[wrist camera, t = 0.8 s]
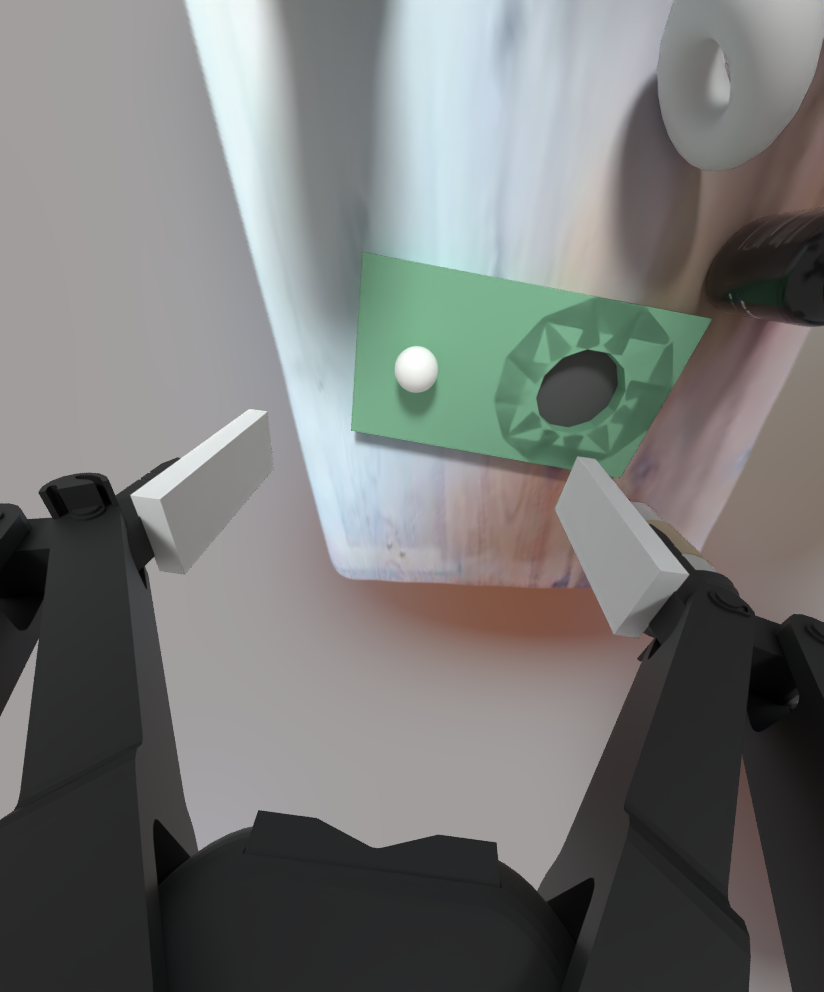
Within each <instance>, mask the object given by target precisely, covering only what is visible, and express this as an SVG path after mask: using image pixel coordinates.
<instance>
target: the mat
mask: <svg viewBox="0 0 824 992" xmlns="http://www.w3.org/2000/svg"><path fill="white" fill-rule="evenodd" d="M711 320H712V319H710V318H705V317H700V316H695V315H689V314H684V313H679V312H674V311H668V310H663V309H658V308H653V307H647V306H642V305H637V304H632V303H626V302H621V301H616V300H611V299H605V298H600V297H595V296H590V295H585V294H579V293H574V292H569V291H564V290H558V289H553V288H548V287H543V286H537V285H532V284H527V283H522V282H516V281H511V280H506V279H501V278H495V277H490V276H485V275H480V274H474V273H469V272H464V271H459V270H453V269H448V268H443V267H438V266H432V265H427V264H422V263H417V262H411V261H406V260H401V259H396V258H391V257H385V256H380V255H375V254H370V253H364V252H362V266H361V281H360V297H359V313H358V329H357V345H356V360H355V376H354V392H353V408H352V424H351V431H356V432H362V433H368V434H373V435H379V436H384V437H390V438H396V439H401V440H407V441H413V442H418V443H424V444H429V445H435V446H441V447H446V448H452V449H458V450H463V451H469V452H474V453H480V454H486V455H491V456H497V457H502V458H508V459H514V460H519V461H525V462H531V463H536V464H542V465H547V466H553V467H559V468H564V469H570V470H572V468H573V465H574V463H575V461H576V459H577V456H578V457H585V458H592V459H596V460H597V462H598V463H599V464H600V465H601V466H602V468H603V469H604V470H605V471H606V473H607V474H608V475H609V476H610V477H615V478H620V477H621V476H622V474H623V472H624V470H625V469H626V467H627V465H628V464H629V462H630V460H631V458H632V457H633V455H634V453H635V451H636V450H637V448H638V446H639V445H640V443H641V441H642V439H643V438H644V436H645V434H646V432H647V431H648V429H649V427H650V426H651V424H652V422H653V420H654V419H655V417H656V415H657V413H658V412H659V410H660V408H661V407H662V405H663V403H664V401H665V400H666V398H667V396H668V394H669V393H670V391H671V389H672V388H673V386H674V384H675V382H676V381H677V379H678V377H679V375H680V374H681V372H682V370H683V369H684V367H685V365H686V363H687V362H688V360H689V358H690V356H691V355H692V353H693V351H694V350H695V348H696V346H697V344H698V343H699V341H700V339H701V337H702V336H703V334H704V332H705V331H706V329H707V327H708V325H709V324H710V322H711ZM413 346H421V347H424V348H426V349H428V350H429V351H431V352H432V353H433V355H434V356H435V358H436V360H437V363H438V376H437V379H436V381H435V383H434V384H433V385H432V386H431V387H430V388H429V389H428V390H426V391H424V392H420V393H413V392H409V391H407V390H405V389H404V388H402V387H401V386H400V384H399V383H398V381H397V379H396V376H395V363H396V360H397V358H398V356H399V355H400V354H401V352H403V351H404V350H405V349H407V348H409V347H413Z"/></svg>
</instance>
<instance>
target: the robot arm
mask: <svg viewBox="0 0 824 992" xmlns="http://www.w3.org/2000/svg"><path fill="white" fill-rule="evenodd" d="M273 469H274V466H273V457H272V448H271V439H270V430H269V421H268V412H267V411H259V410H253V409H249V410H247V411H246V412H245V413H243V414H242V415H240V416H239V417H238V418H236V419H235V420H233V421H232V422H231V423H229V424H228V425H227V426H225V427H224V428H222V429H221V430H220V431H218V432H217V433H215V434H214V435H213V436H211V437H210V438H209V439H207V440H206V441H204V442H203V443H202V444H200V445H199V446H198V447H196V448H195V449H194V450H192V451H191V452H189V453H188V454H187V455H185V456H184V457H182V458H175V459H172V460H170V461H167V462H165V463H162V464H160V465H159V466H158V467H156V468H155V469H153V470H152V471H150V473H147V474H146V475H145V476H143V477H142V478H141V480H137V481H136V482H135V483H133V484H132V485H130V486H129V487H127V488H126V489H124V490H123V491H121V492H120V493H119V494H117V495H116V496H115V494H114V492H113V489H112V487H111V484H110V482H109V480H108V478H107V477H106V476H104V475H101V474H99V473H79V474H73V475H69V476H64V477H61V478H58V479H55V480H53V481H50V482H49V483H47V484H46V485H44V486H43V487H42V488H41V489H40V491H39V495H40V496H41V498H42V500H43V502H44V504H45V505H46V507H47V509H48V511H49V512H50V514H51V516H52V518H40V519H27V518H26V516H25V515H24V513H23V512H22V510H21V509H20V508H19V506H17V505H13V504H0V716H1V714H2V712H3V710H4V708H5V706H6V704H7V702H8V700H9V697H10V695H11V693H12V691H13V689H14V687H15V685H16V683H17V681H18V679H19V677H20V675H21V673H22V671H23V669H24V667H25V665H26V663H27V661H28V659H29V657H30V655H31V653H32V651H33V649H34V647H35V645H36V643H37V641H38V639H39V643H38V651H37V660H36V668H35V676H34V684H33V692H32V700H31V708H30V717H29V725H28V734H27V741H26V749H25V758H24V766H23V774H22V782H21V791H20V796H19V800H18V804H17V806H16V807H15V809H14V811H13V812H11V813H10V814H8V815H7V816H5V817H4V818H2V819H1V820H0V992H749V975H750V958H751V956H750V938H749V933H748V931H747V928H746V925H745V922H744V920H743V919H742V918H741V917H740V916H739V915H738V914H737V913H736V912H735V911H734V910H733V909H732V908H731V907H730V904H729V901H728V882H729V872H730V863H731V853H732V843H733V834H734V824H735V814H736V805H737V796H738V786H739V777H740V767H741V758H742V756H743V760H744V765H745V769H746V774H747V779H748V784H749V789H750V793H751V798H752V803H753V807H754V812H755V817H756V822H757V826H758V831H759V835H760V841H761V845H762V850H763V855H764V859H765V864H766V869H767V873H768V878H769V883H770V887H771V892H772V897H773V902H774V906H775V911H776V916H777V920H778V925H779V930H780V935H781V939H782V944H783V949H784V954H785V958H786V963H787V968H788V972H789V977H790V982H791V987H792V991H793V992H824V622H821V621H819V620H817V619H814V618H812V617H809V616H805V615H802V614H793V615H792V616H790V617H789V618H788V619H787V620H785V621H784V622H783V623H782V624H778V623H775V622H772V621H769V620H767V619H764V618H761V617H758V616H755V613H754V611H753V610H752V609H751V607H750V606H749V605H748V604H747V603H746V602H745V601H744V600H742V599H741V598H740V597H739V596H737V595H735V594H734V593H732V592H730V591H729V590H726V589H724V588H722V587H719V586H717V585H712V584H707V583H706V581H705V580H704V579H703V578H702V577H701V576H700V574H699V573H698V572H697V571H696V570H695V569H694V567H693V566H692V565H691V564H690V563H689V561H688V560H687V559H686V558H685V557H684V556H682V553H681V552H680V551H679V550H678V548H677V547H674V546H675V545H674V544H673V543H672V541H671V540H670V539H669V538H668V537H667V535H666V534H664V533H663V532H662V531H660V530H659V529H658V528H656V527H655V526H654V525H652V524H648V523H647V522H646V521H645V519H644V518H643V517H642V516H641V514H640V513H639V512H638V511H637V510H636V508H635V507H634V506H633V505H632V503H631V502H630V501H629V500H628V498H627V497H626V496H625V495H624V494H623V492H622V491H621V490H620V489H619V487H618V486H617V485H616V484H615V482H614V481H613V480H612V479H611V478H610V476H609V475H608V474H607V473H606V471H605V470H604V469H603V468H602V466H601V465H600V464H599V463H598V462H597V460H596V459H592V458H585V457H578V456H577V459H576V461H575V463H574V465H573V468H572V470H571V472H570V475H569V477H568V479H567V482H566V484H565V486H564V489H563V491H562V493H561V496H560V498H559V500H558V503H557V505H556V507H555V511H556V513H557V515H558V517H559V519H560V522H561V524H562V526H563V528H564V530H565V532H566V534H567V536H568V539H569V541H570V543H571V545H572V547H573V549H574V551H575V553H576V556H577V558H578V560H579V562H580V564H581V566H582V568H583V570H584V572H585V575H586V577H587V579H588V581H589V583H590V585H591V587H592V589H593V592H594V593H595V596H596V598H597V600H598V602H599V604H600V606H601V608H602V610H603V613H604V614H605V617H606V619H607V621H608V623H609V625H610V628H611V630H612V632H613V634H614V635H620V636H627V637H633V638H639V637H640V636H641V635H642V633H643V632H644V631H645V630H646V628H647V627H648V626H650V628H651V629H652V631H653V633H654V634H655V636H656V637H655V638H654V639H653V640H652V642H651V643H650V644H649V645H648V646H647V648H646V649H645V650H644V651H643V652H642V654H641V655H640V656H639V657H638V658H637V659H638V660H639V661H642V663H641V665H640V668H639V670H638V672H637V674H636V677H635V679H634V681H633V684H632V686H631V689H630V691H629V693H628V695H627V698H626V700H625V702H624V705H623V707H622V710H621V712H620V714H619V717H618V719H617V721H616V724H615V726H614V728H613V731H612V733H611V735H610V738H609V740H608V742H607V745H606V747H605V749H604V752H603V754H602V757H601V759H600V761H599V764H598V766H597V768H596V770H595V773H594V775H593V778H592V780H591V782H590V785H589V787H588V789H587V792H586V794H585V796H584V799H583V801H582V803H581V806H580V808H579V810H578V813H577V815H576V817H575V820H574V822H573V824H572V827H571V829H570V832H569V834H568V836H567V839H566V841H565V843H564V846H563V848H562V850H561V852H560V854H559V855H558V857H557V859H556V860H555V862H554V863H553V865H552V866H551V868H550V869H549V870H548V872H547V874H546V875H545V877H544V879H543V881H542V882H541V884H540V887H539V888H538V891H536V890H535V889H534V888H533V887H532V885H530V884H529V883H528V882H527V881H526V880H525V879H524V878H523V877H522V876H521V875H519V874H518V873H517V872H515V871H514V870H513V869H511V868H510V867H509V866H507V865H506V864H504V863H502V862H501V861H499V860H498V854H497V843H496V842H488V841H482V840H474V839H467V838H459V837H452V836H444V835H435V836H430V837H426V838H422V839H418V840H413V841H409V842H405V843H400V844H396V845H392V846H388V847H383V848H372V847H370V846H368V845H366V844H364V843H362V842H360V841H359V840H357V839H355V838H353V837H351V836H349V835H347V834H345V833H344V832H342V831H340V830H338V829H336V828H334V827H332V826H330V825H329V824H327V823H325V822H323V821H321V820H319V819H317V818H312V817H311V818H310V817H304V816H297V815H289V814H282V813H275V812H267V811H260V810H259V811H258V813H257V816H256V819H255V822H254V825H253V827H248V828H244V829H241V830H239V831H236V832H233V833H230V834H228V835H226V836H224V837H222V838H220V839H218V840H216V841H214V842H212V843H210V844H209V845H207V846H206V847H204V848H203V849H202V850H200V851H198V848H197V843H196V838H195V834H194V830H193V826H192V822H191V819H190V816H189V813H188V811H187V807H186V803H185V798H184V793H183V787H182V781H181V775H180V768H179V762H178V756H177V750H176V744H175V737H174V731H173V725H172V719H171V713H170V707H169V701H168V694H167V688H166V682H165V676H164V670H163V663H162V657H161V651H160V645H159V639H158V633H157V626H156V621H155V614H154V608H153V601H152V595H151V589H150V583H149V577H148V573H147V571H146V568H145V565H146V564H147V563H148V562H149V561H150V560H151V559H152V558H153V557H155V560H156V562H157V565H158V568H159V570H160V571H164V572H171V573H178V574H186V573H187V572H188V570H189V569H190V568H191V567H192V566H193V564H194V563H195V562H196V561H197V560H198V558H199V557H200V556H201V555H202V554H203V552H204V551H205V550H206V549H207V548H208V547H209V545H210V544H211V543H212V542H213V541H214V540H215V538H216V537H217V536H218V535H219V534H220V532H221V531H222V530H223V529H224V528H225V526H226V525H227V524H228V523H229V522H230V520H231V519H232V518H233V517H234V516H235V515H236V513H237V512H238V511H239V510H240V508H241V507H242V506H243V505H244V503H246V501H247V500H248V499H249V498H250V497H251V496H252V494H253V493H254V492H255V491H256V490H257V488H258V487H259V486H260V485H261V484H262V482H263V481H264V480H265V479H266V478H267V477H268V475H269V474H270V473H271V472H272V471H273ZM796 702H798V704H797V703H796Z"/></svg>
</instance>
